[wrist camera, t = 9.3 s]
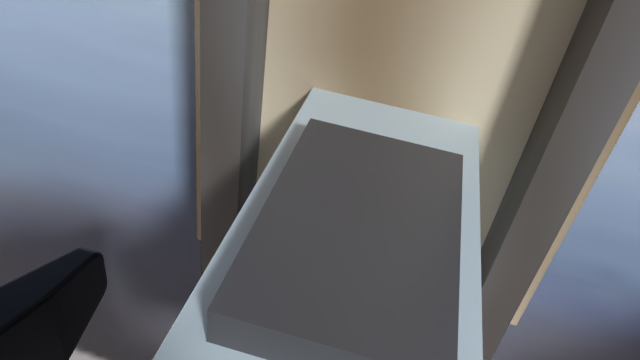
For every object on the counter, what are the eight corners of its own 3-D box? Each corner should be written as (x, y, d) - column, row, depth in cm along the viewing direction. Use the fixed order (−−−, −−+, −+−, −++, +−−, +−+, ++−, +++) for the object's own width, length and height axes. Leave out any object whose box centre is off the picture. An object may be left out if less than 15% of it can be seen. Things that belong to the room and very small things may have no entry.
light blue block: (433, 249, 15) (402, 587, 8) (295, 213, 15) (163, 507, 9) (486, 103, 12) (503, 438, 5) (316, 64, 12) (147, 332, 6)
